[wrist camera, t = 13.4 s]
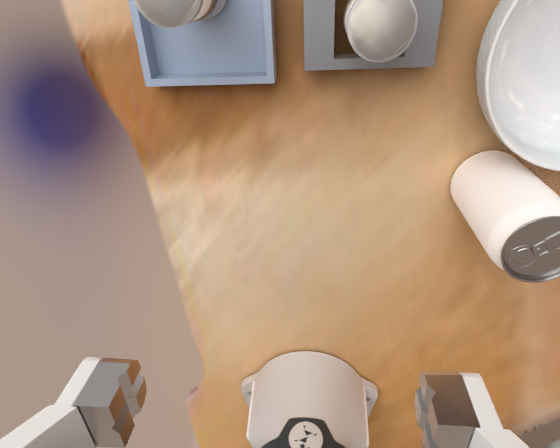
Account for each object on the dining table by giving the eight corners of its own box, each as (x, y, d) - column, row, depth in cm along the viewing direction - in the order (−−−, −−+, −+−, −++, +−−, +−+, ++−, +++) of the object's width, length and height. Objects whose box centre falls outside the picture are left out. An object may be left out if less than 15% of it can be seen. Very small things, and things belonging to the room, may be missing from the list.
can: (437, 172, 39) (480, 240, 28) (505, 134, 36) (578, 194, 26) (465, 221, 41) (514, 300, 31) (530, 188, 39) (607, 262, 28)
